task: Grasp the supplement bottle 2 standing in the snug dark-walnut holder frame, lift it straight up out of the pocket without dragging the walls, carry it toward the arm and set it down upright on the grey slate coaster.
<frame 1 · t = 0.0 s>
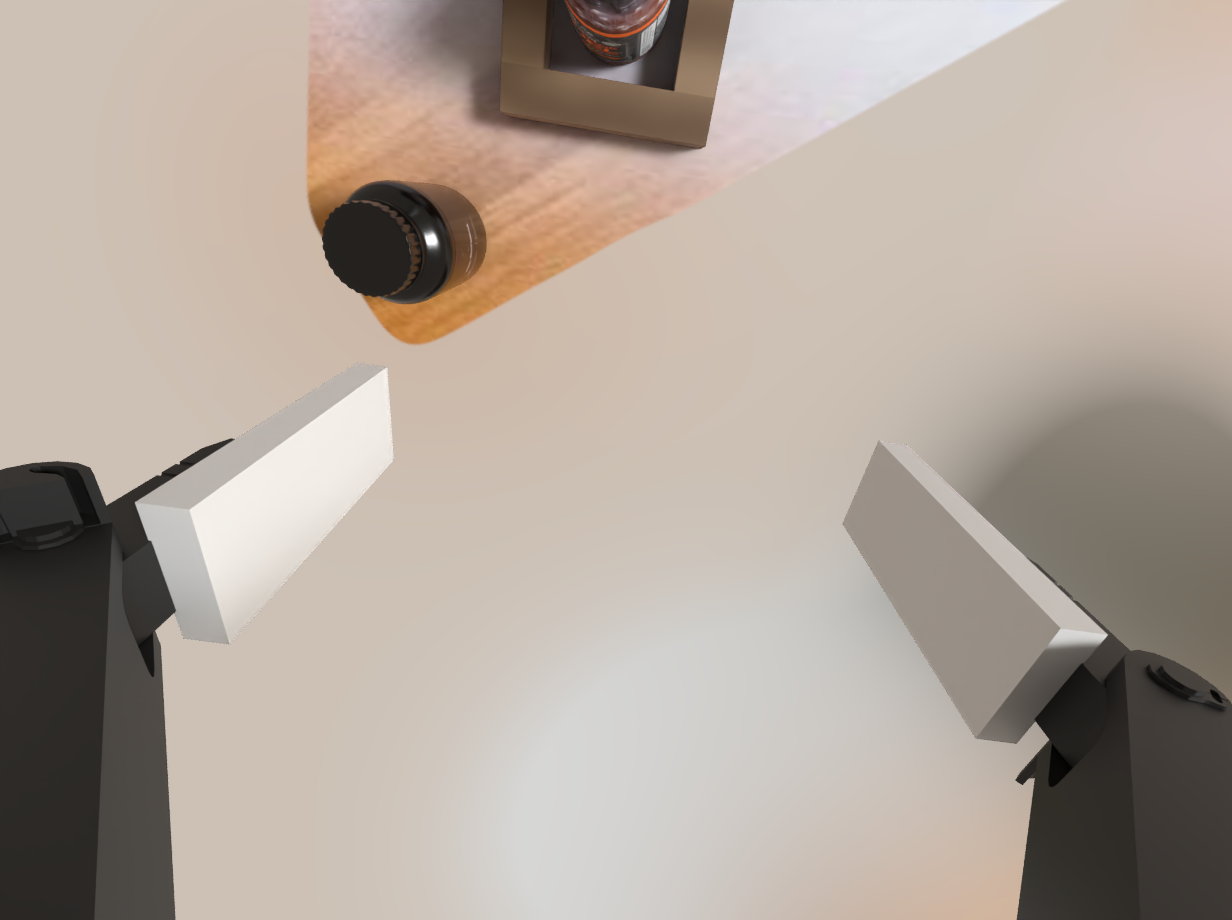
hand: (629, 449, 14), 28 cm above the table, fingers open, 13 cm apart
supplement bottle: (443, 235, 38), on the table
holder frame: (619, 7, 31), on the table
supplement bottle 2: (619, 8, 31), resting in holder frame
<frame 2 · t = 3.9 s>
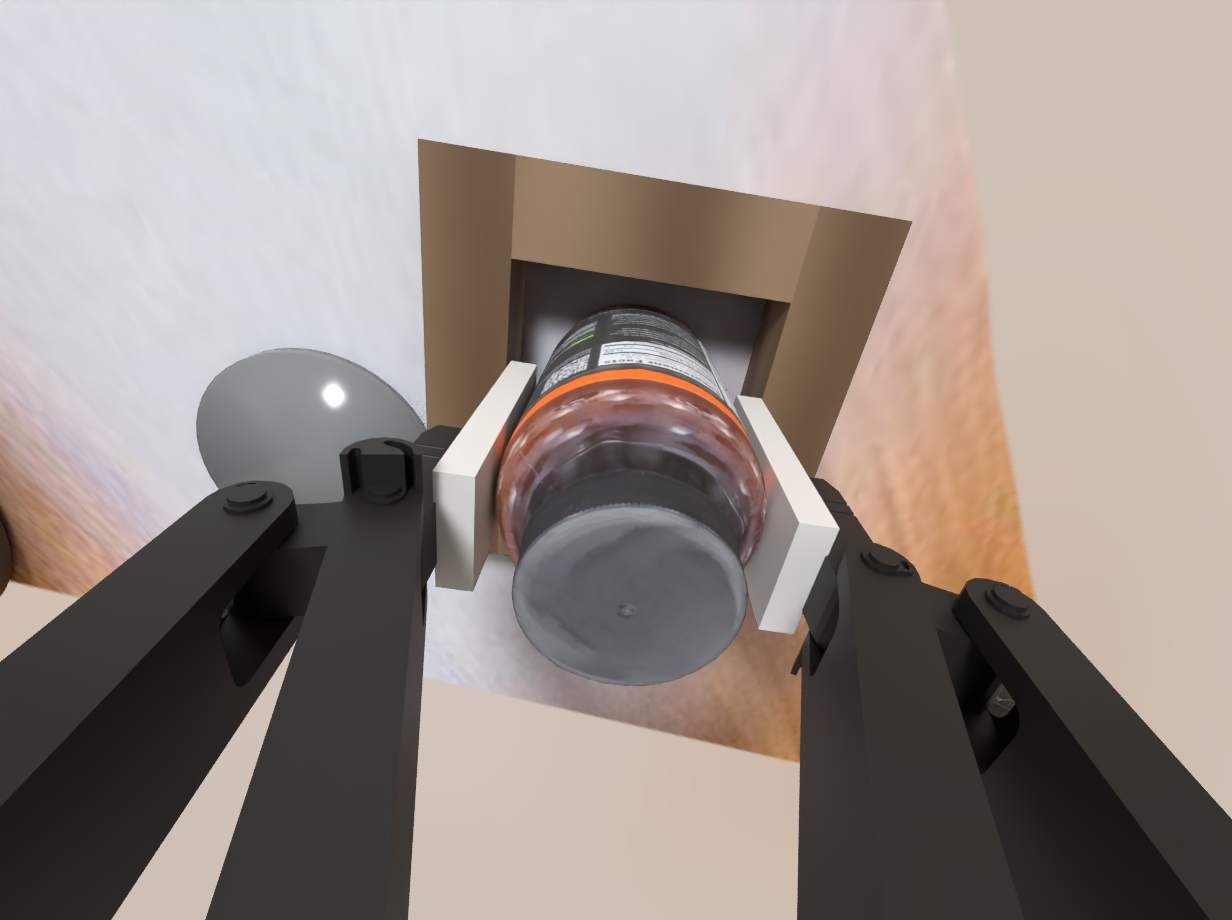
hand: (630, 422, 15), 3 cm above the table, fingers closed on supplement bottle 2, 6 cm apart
slate coaster: (326, 459, 20), on the table
supplement bottle: (893, 644, 24), on the table
holder frame: (630, 384, 18), on the table
supplement bottle 2: (630, 382, 19), resting in holder frame, touching gripper
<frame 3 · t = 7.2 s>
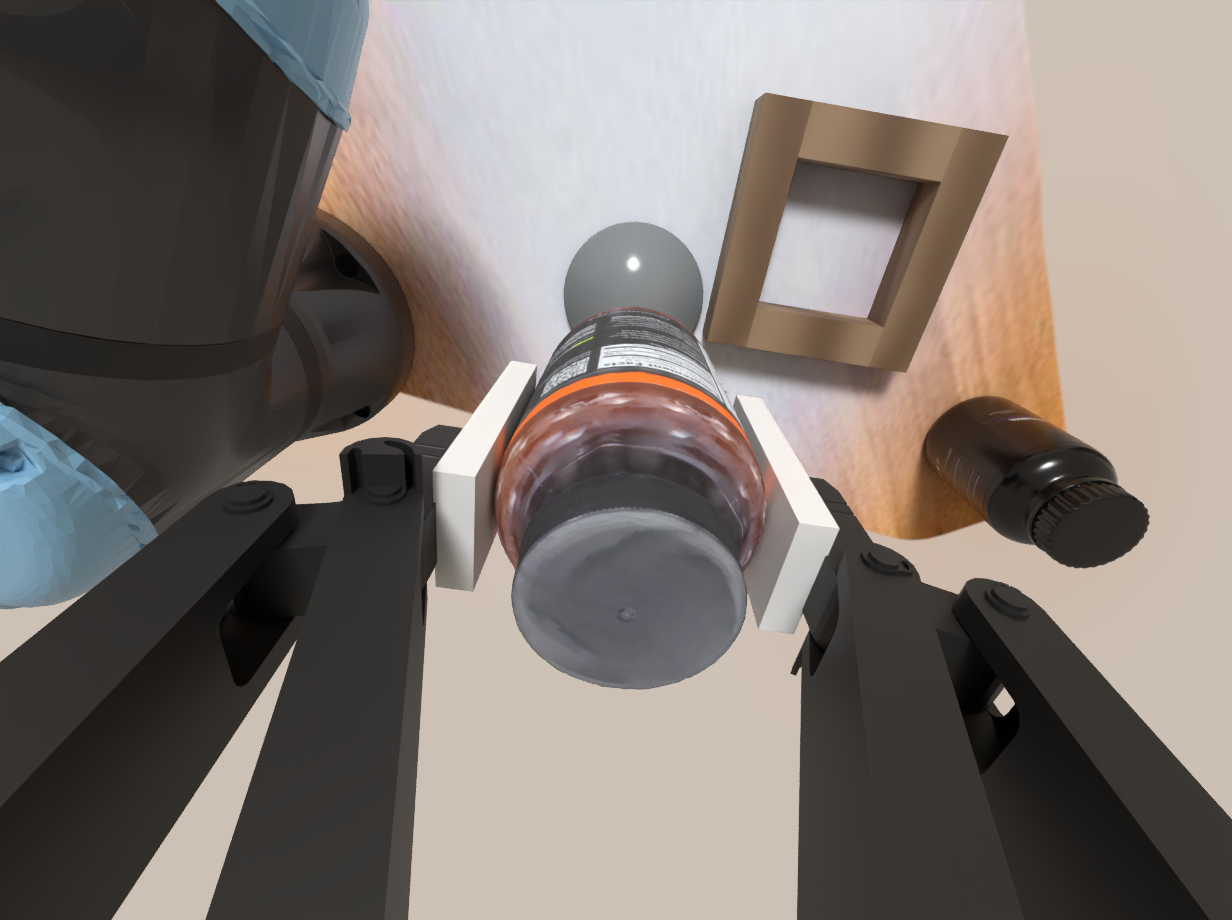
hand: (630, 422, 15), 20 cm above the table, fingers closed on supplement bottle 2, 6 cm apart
slate coaster: (633, 297, 34), on the table
supplement bottle: (968, 435, 38), on the table
holder frame: (829, 244, 32), on the table
supplement bottle 2: (630, 384, 19), point 17 cm above the table, touching gripper
when the fingers open (5 cm above the table, at t = 10.7 s): supplement bottle 2 stays where it is, resting on slate coaster.
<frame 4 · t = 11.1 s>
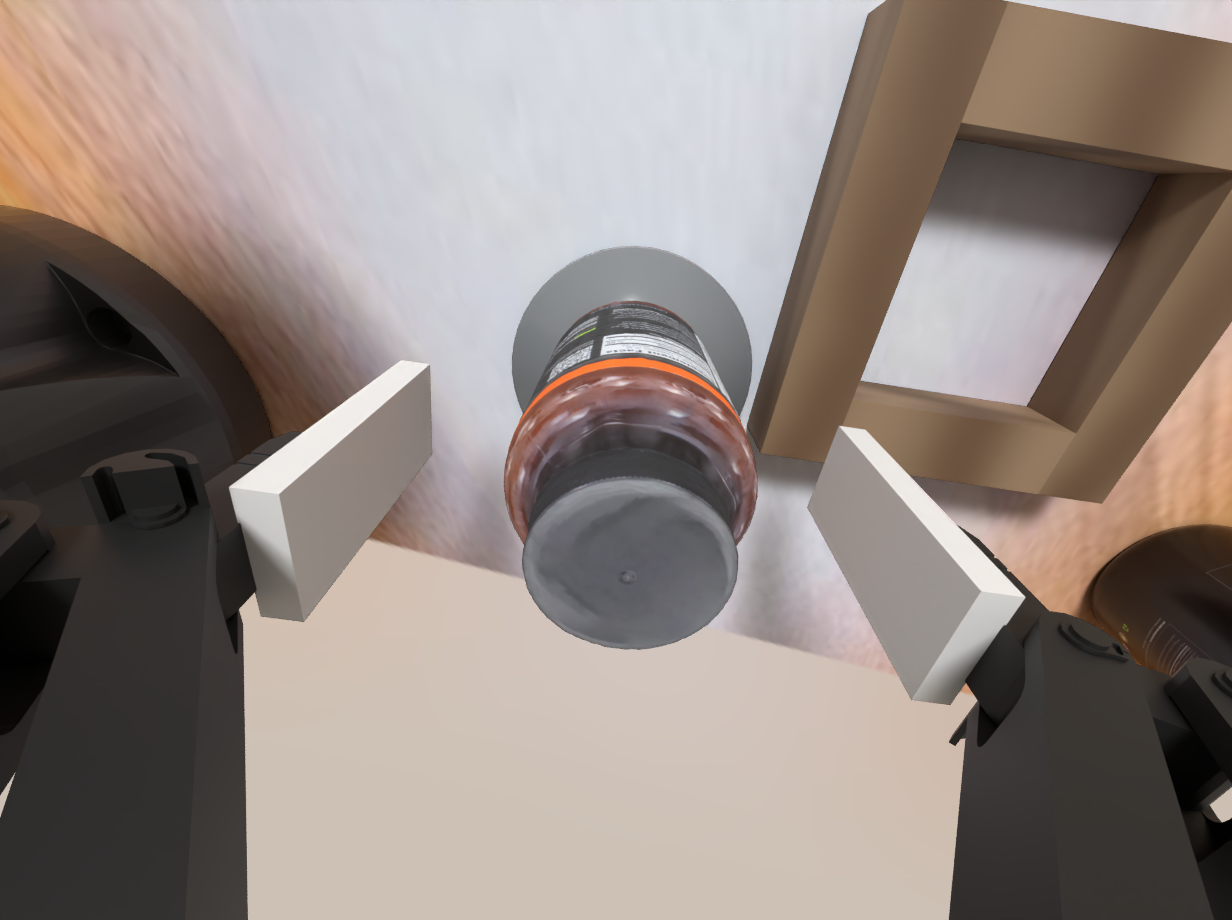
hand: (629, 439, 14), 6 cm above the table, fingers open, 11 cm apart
slate coaster: (631, 371, 20), on the table
supplement bottle: (1160, 575, 24), on the table
holder frame: (977, 284, 18), on the table
supplement bottle 2: (630, 375, 19), resting on slate coaster
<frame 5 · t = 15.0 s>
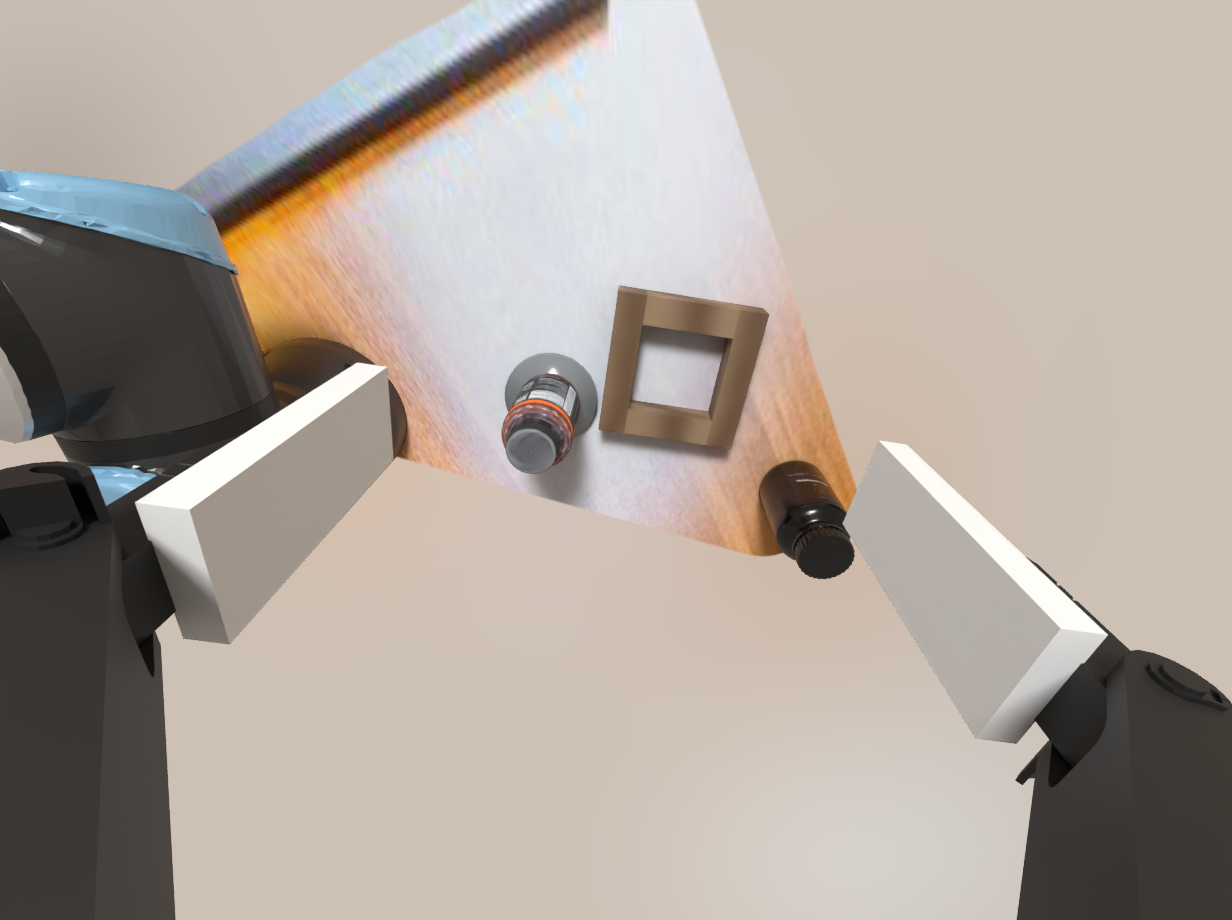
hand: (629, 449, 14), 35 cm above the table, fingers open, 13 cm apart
slate coaster: (551, 397, 50), on the table
supplement bottle: (789, 485, 54), on the table
holder frame: (676, 366, 48), on the table
supplement bottle 2: (551, 399, 50), resting on slate coaster
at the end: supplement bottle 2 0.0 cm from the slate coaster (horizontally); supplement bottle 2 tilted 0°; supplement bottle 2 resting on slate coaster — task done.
